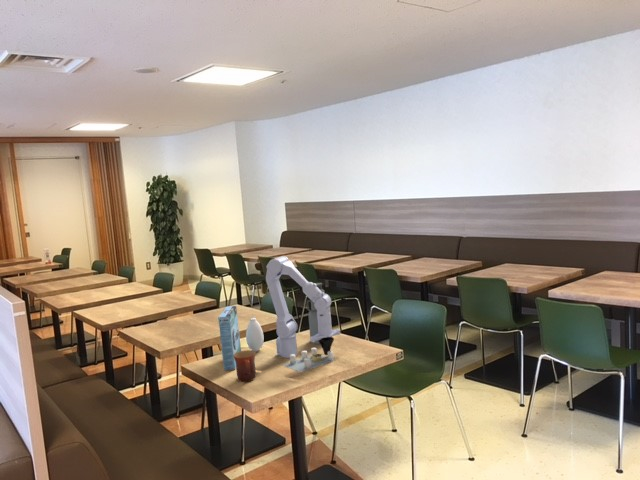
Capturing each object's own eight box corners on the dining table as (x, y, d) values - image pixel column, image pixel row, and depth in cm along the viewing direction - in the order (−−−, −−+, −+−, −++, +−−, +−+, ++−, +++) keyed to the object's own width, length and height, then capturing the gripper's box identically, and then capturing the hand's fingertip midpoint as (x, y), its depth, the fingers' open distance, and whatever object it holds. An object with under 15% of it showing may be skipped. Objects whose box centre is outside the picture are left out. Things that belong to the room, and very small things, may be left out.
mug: (234, 377, 207) (231, 352, 206) (256, 373, 209) (253, 349, 208) (238, 387, 195) (235, 361, 194) (261, 383, 198) (258, 357, 196)
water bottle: (323, 347, 236) (318, 287, 233) (306, 344, 242) (301, 286, 239) (335, 340, 245) (330, 282, 242) (318, 338, 250) (313, 281, 247)
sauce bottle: (244, 351, 239) (240, 313, 237) (258, 347, 244) (255, 309, 242) (253, 354, 233) (250, 315, 231) (267, 350, 238) (264, 312, 236)
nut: (309, 360, 217) (309, 356, 217) (315, 357, 220) (315, 353, 220) (318, 362, 214) (317, 357, 214) (324, 359, 217) (323, 354, 217)
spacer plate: (282, 366, 215) (281, 356, 214) (317, 355, 225) (316, 345, 225) (300, 374, 204) (299, 363, 204) (336, 362, 215) (335, 352, 215)
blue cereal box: (235, 370, 215) (229, 316, 213) (222, 370, 215) (217, 317, 213) (241, 354, 235) (237, 305, 232) (230, 355, 235) (225, 306, 232)
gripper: (316, 328, 211) (319, 361, 213) (343, 321, 220) (346, 352, 221) (306, 325, 217) (309, 357, 218) (333, 318, 225) (335, 348, 227)
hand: (327, 354), depth 220 cm, fingers closed
